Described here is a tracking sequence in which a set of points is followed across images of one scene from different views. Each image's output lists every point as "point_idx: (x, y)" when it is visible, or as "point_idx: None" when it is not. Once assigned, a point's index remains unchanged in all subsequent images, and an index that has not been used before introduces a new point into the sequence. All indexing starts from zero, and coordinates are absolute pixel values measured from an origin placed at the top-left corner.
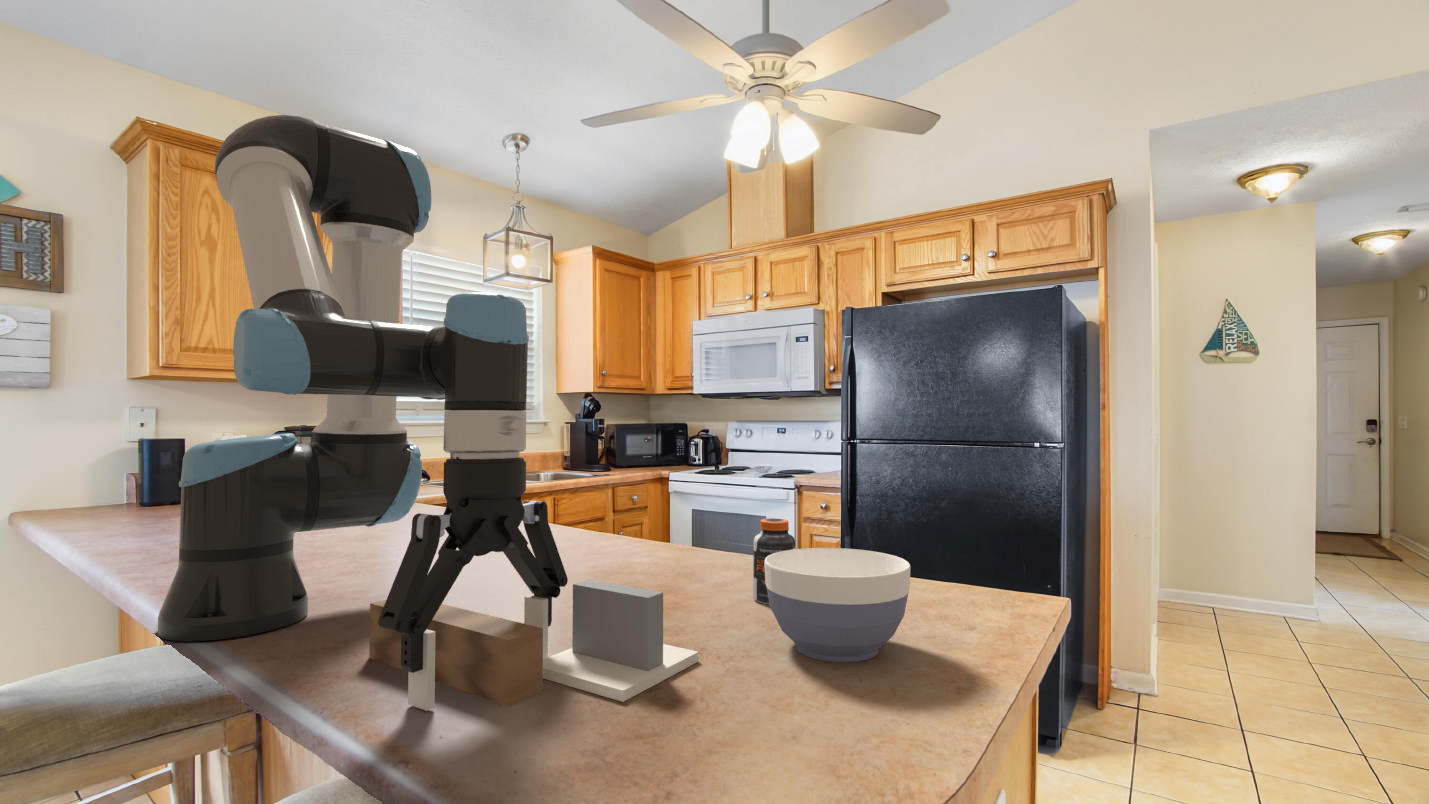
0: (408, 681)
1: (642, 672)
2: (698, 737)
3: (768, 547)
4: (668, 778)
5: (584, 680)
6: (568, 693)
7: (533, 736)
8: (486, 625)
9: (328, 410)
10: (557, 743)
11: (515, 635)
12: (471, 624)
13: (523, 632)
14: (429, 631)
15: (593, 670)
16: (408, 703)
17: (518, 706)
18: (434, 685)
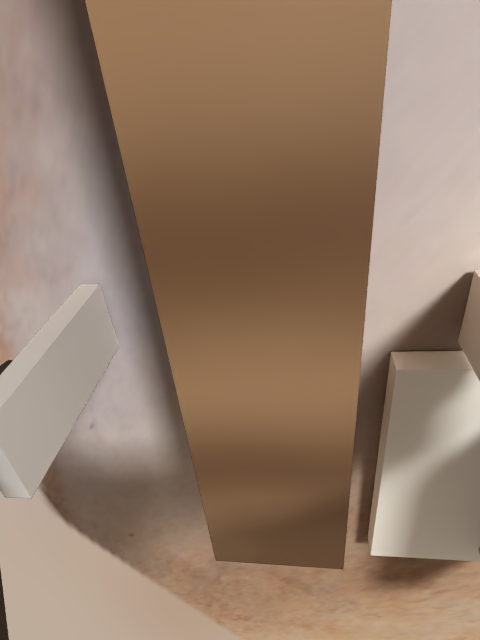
0: (54, 313)
1: (467, 546)
2: (328, 613)
3: None
4: (236, 617)
5: (377, 497)
6: None
7: (197, 507)
8: (256, 458)
9: None
10: (207, 533)
11: (252, 554)
12: (229, 413)
13: (282, 556)
14: (15, 485)
15: (433, 488)
16: (80, 285)
17: None
18: (99, 379)
